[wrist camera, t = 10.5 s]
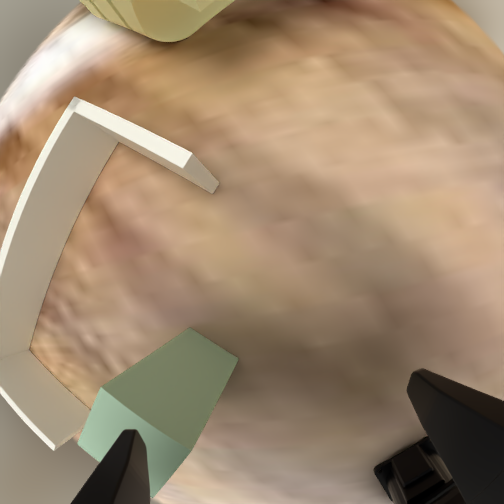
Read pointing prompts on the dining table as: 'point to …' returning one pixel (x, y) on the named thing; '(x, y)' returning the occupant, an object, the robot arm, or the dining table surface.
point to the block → (161, 403)
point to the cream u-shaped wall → (50, 248)
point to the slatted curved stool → (158, 15)
